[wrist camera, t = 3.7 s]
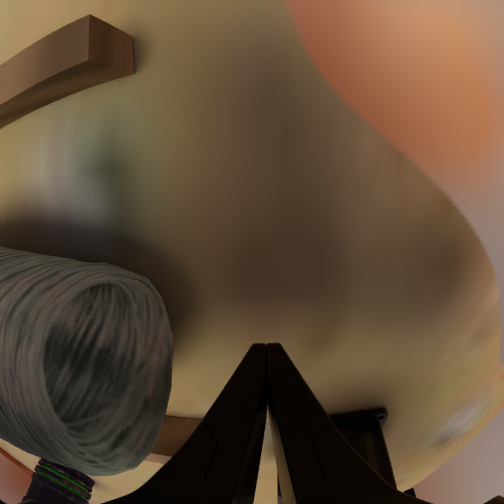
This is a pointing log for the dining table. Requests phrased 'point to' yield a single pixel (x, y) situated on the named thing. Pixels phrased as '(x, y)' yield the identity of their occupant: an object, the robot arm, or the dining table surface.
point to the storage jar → (58, 485)
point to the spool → (82, 361)
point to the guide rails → (66, 83)
